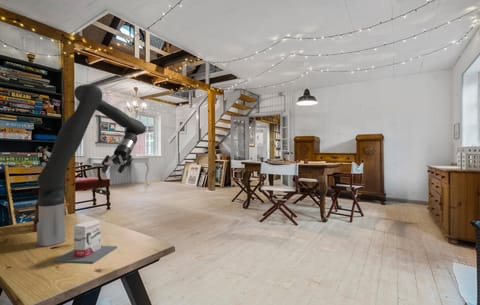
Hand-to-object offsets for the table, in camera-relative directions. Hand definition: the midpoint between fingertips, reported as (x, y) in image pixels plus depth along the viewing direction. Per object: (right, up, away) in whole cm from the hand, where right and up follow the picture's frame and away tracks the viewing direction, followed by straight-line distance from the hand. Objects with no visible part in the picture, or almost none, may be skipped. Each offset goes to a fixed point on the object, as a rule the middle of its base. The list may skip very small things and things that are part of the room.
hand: (111, 171), depth 117 cm
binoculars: (-44, -31, +12) cm, 55 cm away
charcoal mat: (+3, -31, -23) cm, 38 cm away
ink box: (+3, -30, -23) cm, 38 cm away
